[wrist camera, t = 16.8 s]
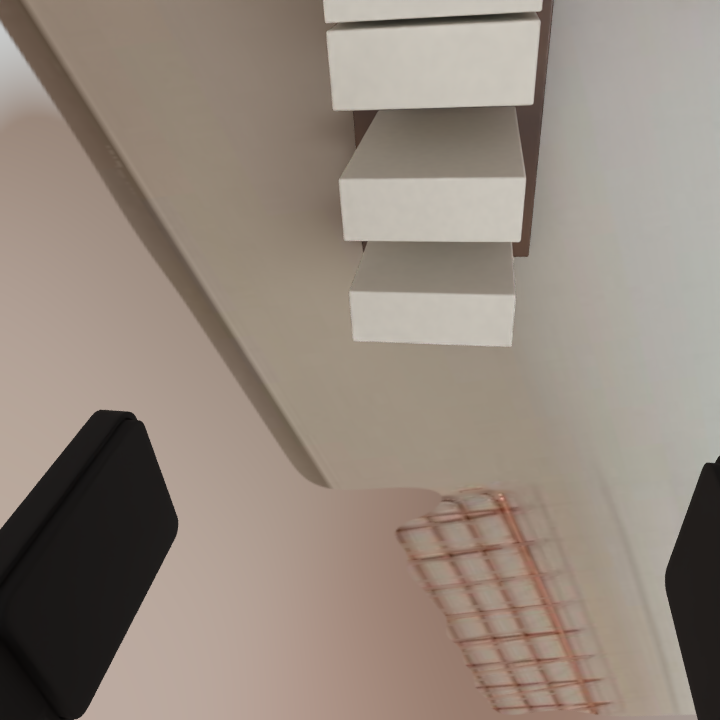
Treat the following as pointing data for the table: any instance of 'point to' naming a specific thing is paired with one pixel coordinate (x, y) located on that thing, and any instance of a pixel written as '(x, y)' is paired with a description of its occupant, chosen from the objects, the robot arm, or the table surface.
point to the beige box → (436, 177)
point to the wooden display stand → (436, 91)
